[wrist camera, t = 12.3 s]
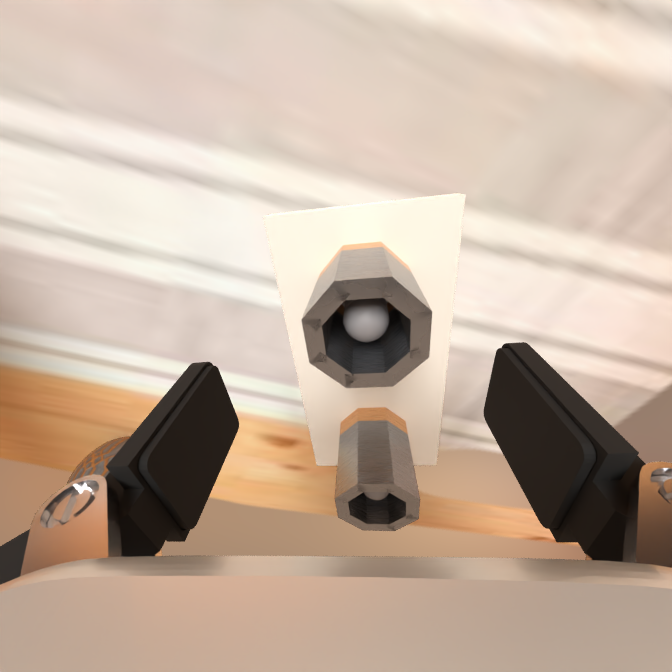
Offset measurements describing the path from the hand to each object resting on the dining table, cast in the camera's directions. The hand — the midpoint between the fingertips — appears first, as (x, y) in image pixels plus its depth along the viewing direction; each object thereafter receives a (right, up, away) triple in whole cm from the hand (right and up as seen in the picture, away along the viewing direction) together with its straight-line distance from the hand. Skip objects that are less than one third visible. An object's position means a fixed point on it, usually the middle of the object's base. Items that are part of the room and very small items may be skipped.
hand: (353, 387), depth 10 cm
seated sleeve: (+3, -7, +16) cm, 18 cm away
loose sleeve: (+1, +5, +9) cm, 11 cm away
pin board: (+2, 0, +14) cm, 14 cm away
